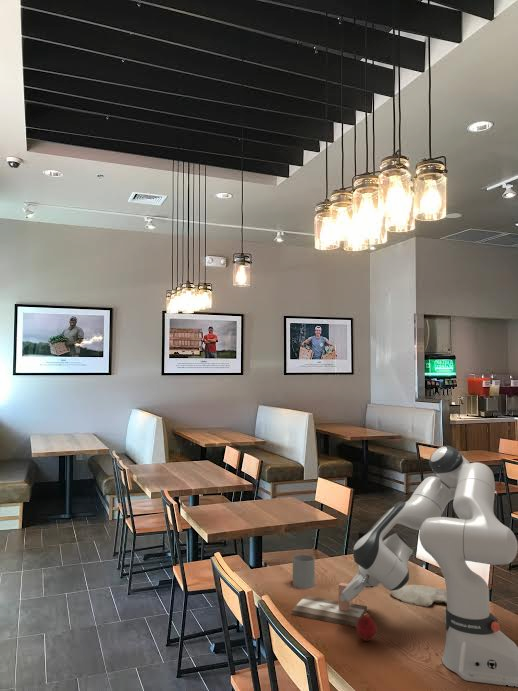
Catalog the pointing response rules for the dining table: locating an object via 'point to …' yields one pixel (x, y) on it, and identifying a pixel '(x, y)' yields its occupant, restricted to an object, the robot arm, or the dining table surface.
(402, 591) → the fragment
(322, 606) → the board with dashed strip
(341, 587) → the stub
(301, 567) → the cup
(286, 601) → the dining table surface
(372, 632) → the onion
